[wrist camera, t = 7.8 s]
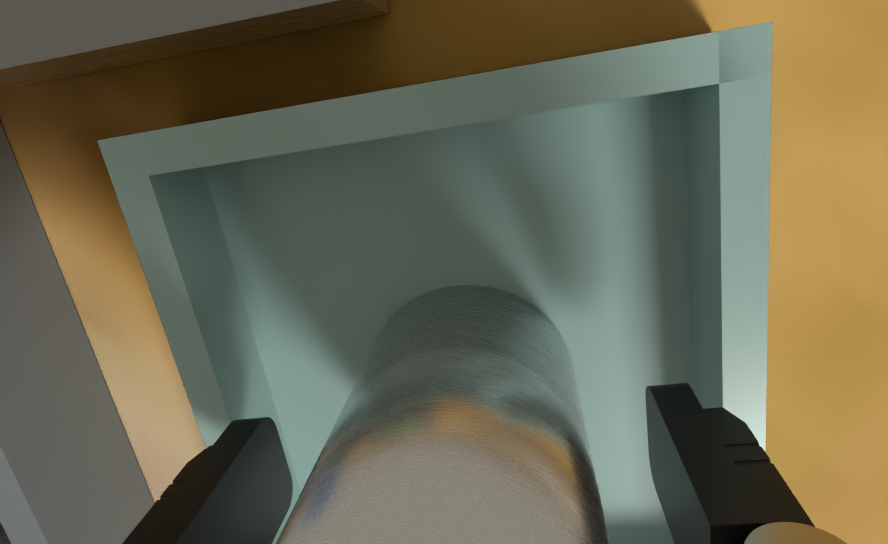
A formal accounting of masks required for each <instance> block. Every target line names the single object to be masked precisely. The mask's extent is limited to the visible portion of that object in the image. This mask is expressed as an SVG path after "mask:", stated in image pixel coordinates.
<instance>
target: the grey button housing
mask: <svg viewBox="0 0 888 544" xmlns="http://www.w3.org/2000/svg"><path fill="white" fill-rule="evenodd" d="M385 14H390V11H389V5H388V0H0V86H24V85H30V84H35V83H40V82H45V81H50V80H55V79H60V78H65V77H70V76H75V75H80V74H85V73H90V72H95V71H101V70H106V69H111V68H116V67H121V66H126V65H131V64H136V63H141V62H146V61H151V60H156V59H161V58H166V57H172V56H177V55H182V54H187V53H192V52H197V51H202V50H207V49H212V48H217V47H222V46H227V45H232V44H237V43H243V42H248V41H253V40H258V39H263V38H268V37H273V36H278V35H283V34H288V33H293V32H298V31H303V30H308V29H314V28H319V27H324V26H329V25H334V24H339V23H344V22H349V21H354V20H359V19H364V18H369V17H374V16H379V15H385Z"/></svg>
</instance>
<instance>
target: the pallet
mask: <svg viewBox="0 0 888 544" xmlns="http://www.w3.org/2000/svg"><path fill="white" fill-rule="evenodd" d="M153 505H154V502H153V499H152V497H151V494H150V492H149V489H148V487H147V484H146V482H145V479H144V477H143V474H142V472H141V469H140V467H139V465H138V462H137V460H136V457H135V455H134V452H133V450H132V447H131V445H130V442H129V440H128V437H127V435H126V432H125V430H124V427H123V425H122V422H121V420H120V417H119V415H118V412H117V410H116V407H115V405H114V402H113V400H112V398H111V395H110V393H109V390H108V388H107V385H106V383H105V380H104V378H103V375H102V373H101V370H100V368H99V365H98V363H97V360H96V358H95V355H94V353H93V350H92V348H91V345H90V343H89V340H88V338H87V335H86V333H85V331H84V328H83V326H82V323H81V321H80V318H79V316H78V313H77V311H76V308H75V306H74V303H73V301H72V298H71V296H70V293H69V291H68V288H67V286H66V283H65V281H64V278H63V276H62V273H61V271H60V268H59V266H58V264H57V261H56V259H55V256H54V254H53V251H52V249H51V246H50V244H49V241H48V239H47V236H46V234H45V231H44V229H43V226H42V224H41V221H40V219H39V216H38V214H37V211H36V209H35V206H34V204H33V201H32V199H31V196H30V194H29V192H28V189H27V187H26V184H25V182H24V179H23V177H22V174H21V172H20V169H19V167H18V164H17V162H16V159H15V157H14V154H13V152H12V149H11V147H10V144H9V142H8V139H7V137H6V134H5V132H4V129H3V127H2V125H1V122H0V522H1V524H2V526H3V528H4V530H5V532H6V534H7V536H8V538H9V540H10V542H11V544H122V543H123V542H124V541H125V539H126V538H127V537H128V536H129V535H130V533H131V532H132V531H133V530H134V528H135V527H136V526H137V525H138V523H139V522H140V521H141V520H142V518H143V517H144V516H145V515H146V513H147V512H148V511H149V510H150V509H151V507H152V506H153Z"/></svg>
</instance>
